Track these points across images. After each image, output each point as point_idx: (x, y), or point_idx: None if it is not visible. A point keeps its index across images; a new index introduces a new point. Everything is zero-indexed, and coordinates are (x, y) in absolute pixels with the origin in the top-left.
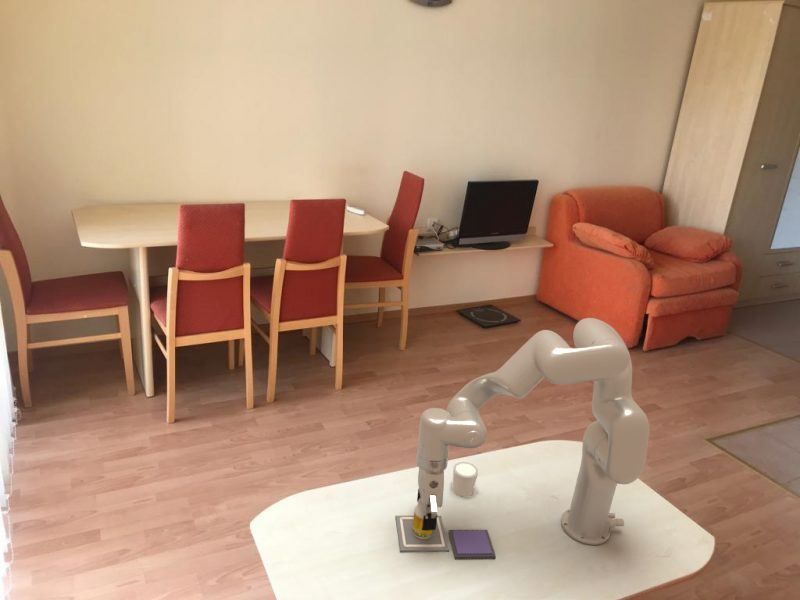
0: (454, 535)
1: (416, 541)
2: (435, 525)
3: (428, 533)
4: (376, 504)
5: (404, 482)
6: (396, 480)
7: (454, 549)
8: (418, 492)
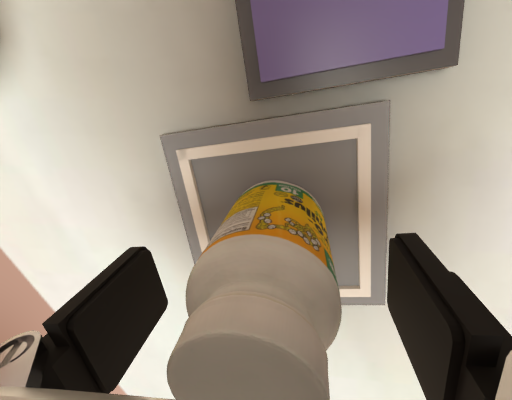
0: (294, 68)
1: (334, 247)
2: (433, 258)
3: (321, 216)
4: (165, 341)
5: (37, 258)
6: (40, 281)
7: (397, 69)
8: (119, 374)
